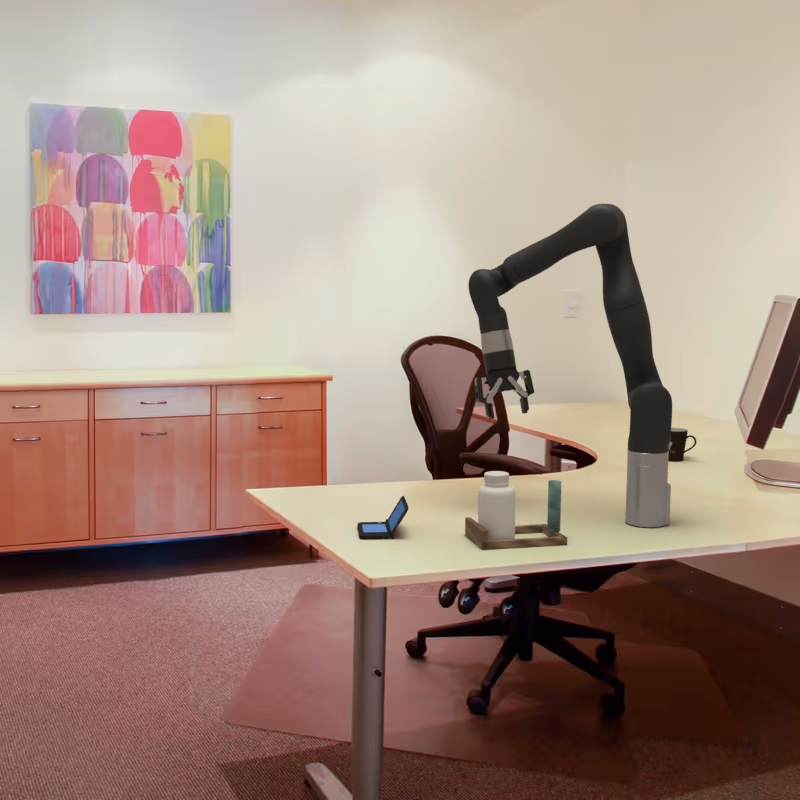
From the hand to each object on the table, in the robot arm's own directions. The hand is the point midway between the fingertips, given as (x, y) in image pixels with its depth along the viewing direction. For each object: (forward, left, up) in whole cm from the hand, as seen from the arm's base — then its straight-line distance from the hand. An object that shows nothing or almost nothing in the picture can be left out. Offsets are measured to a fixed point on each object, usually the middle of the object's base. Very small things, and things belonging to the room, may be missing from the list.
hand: (508, 416), depth 229 cm
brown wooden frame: (+7, +27, -24) cm, 36 cm away
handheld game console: (+34, +14, -24) cm, 44 cm away
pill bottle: (+12, +27, -24) cm, 38 cm away
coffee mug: (-78, -56, -24) cm, 99 cm away
